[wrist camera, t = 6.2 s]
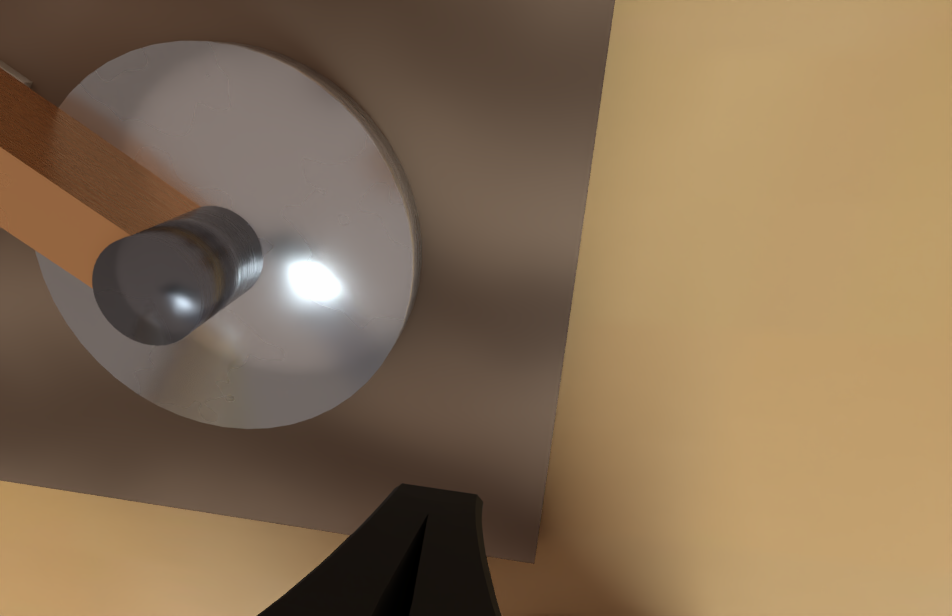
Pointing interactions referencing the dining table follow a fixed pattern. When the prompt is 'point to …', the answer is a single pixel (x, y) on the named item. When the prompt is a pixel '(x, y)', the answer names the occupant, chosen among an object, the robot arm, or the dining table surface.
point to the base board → (441, 278)
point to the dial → (215, 228)
